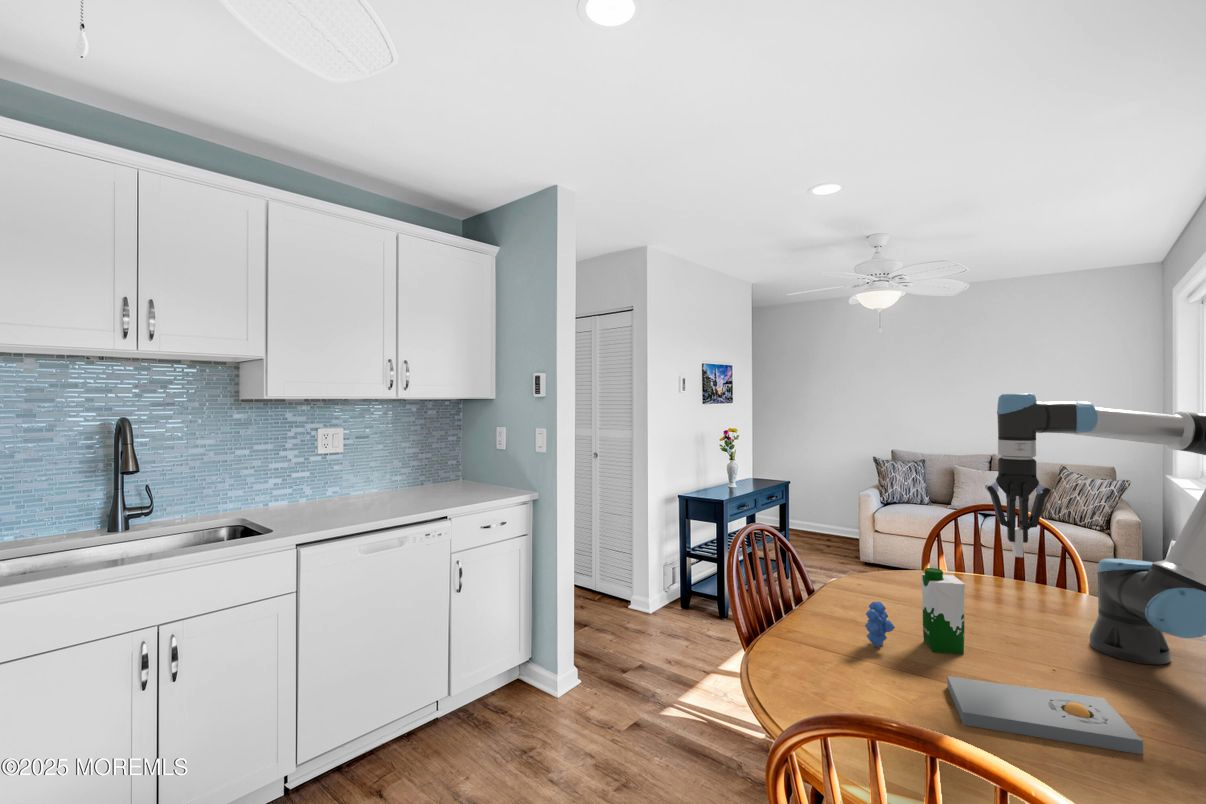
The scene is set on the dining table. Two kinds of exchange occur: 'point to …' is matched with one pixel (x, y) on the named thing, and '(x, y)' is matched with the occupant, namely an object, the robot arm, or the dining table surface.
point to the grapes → (878, 624)
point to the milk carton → (943, 612)
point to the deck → (1041, 714)
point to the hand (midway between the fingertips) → (1017, 555)
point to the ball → (1077, 710)
